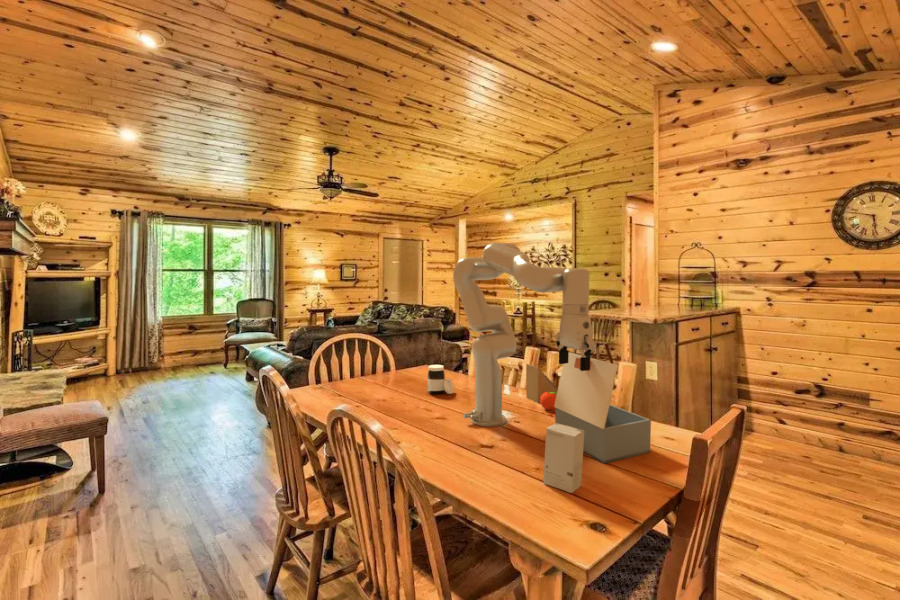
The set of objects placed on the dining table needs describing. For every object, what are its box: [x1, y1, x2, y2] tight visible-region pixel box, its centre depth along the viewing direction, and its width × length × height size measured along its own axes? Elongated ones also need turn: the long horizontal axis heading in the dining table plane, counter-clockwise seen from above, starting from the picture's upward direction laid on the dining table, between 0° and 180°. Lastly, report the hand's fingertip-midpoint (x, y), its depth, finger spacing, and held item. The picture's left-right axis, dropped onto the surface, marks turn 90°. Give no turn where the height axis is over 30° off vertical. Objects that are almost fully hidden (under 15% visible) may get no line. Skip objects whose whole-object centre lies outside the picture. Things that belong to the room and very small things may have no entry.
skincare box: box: [543, 423, 584, 494], centre depth 116 cm, size 8×6×15 cm
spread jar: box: [427, 364, 454, 395], centre depth 202 cm, size 12×11×12 cm
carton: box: [554, 404, 652, 465], centre depth 141 cm, size 18×22×10 cm
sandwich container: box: [525, 363, 558, 404], centre depth 191 cm, size 9×15×15 cm, turn 115°
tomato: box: [539, 392, 557, 411], centre depth 176 cm, size 8×7×7 cm
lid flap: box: [554, 352, 619, 429], centre depth 137 cm, size 18×22×5 cm
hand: (573, 366), depth 136 cm, fingers open, 9 cm apart
